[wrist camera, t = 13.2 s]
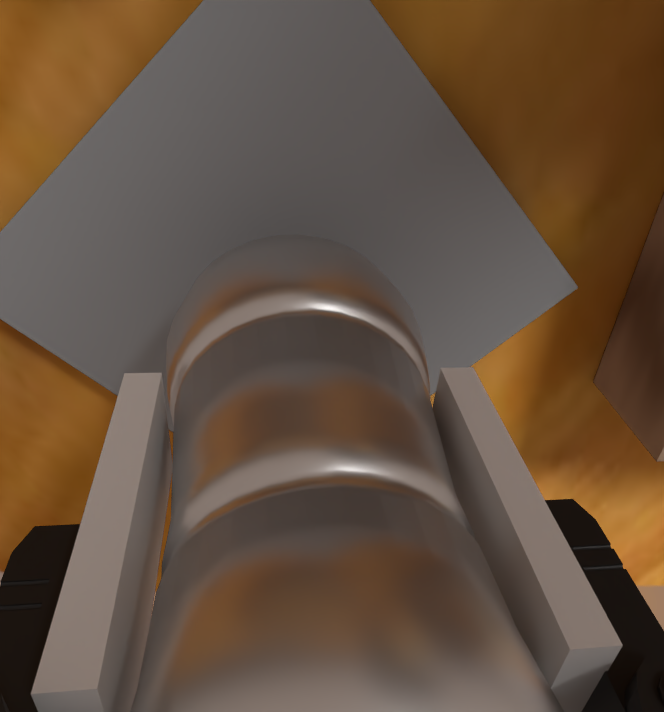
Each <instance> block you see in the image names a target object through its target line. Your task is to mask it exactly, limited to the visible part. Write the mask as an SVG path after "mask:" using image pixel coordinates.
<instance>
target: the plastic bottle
mask: <svg viewBox="0 0 664 712" xmlns="http://www.w3.org/2000/svg"><path fill="white" fill-rule="evenodd" d="M166 371H167V395H168V401H169V407H170V412H171V417H172V421H173V426H174V433H173V468H172V502H171V522H170V527H169V532H168V537H167V542H166V547H165V551H164V556H163V561H162V578H161V581H160V584H159V587H158V589H157V592H156V596H155V601H154V606H153V611H152V616H151V621H150V626H149V631H148V636H147V641H146V646H145V651H144V656H143V661H142V666H141V671H140V676H139V681H138V686H137V691H136V694H135V698H134V701H133V704H132V708H131V711H130V712H564V710H563V709H562V707H561V705H560V703H559V702H558V700H557V698H556V696H555V695H554V693H553V691H552V689H551V688H550V686H549V684H548V682H547V680H546V679H545V677H544V675H543V673H542V672H541V670H540V668H539V666H538V665H537V663H536V661H535V659H534V657H533V656H532V654H531V652H530V650H529V649H528V647H527V645H526V643H525V642H524V640H523V638H522V636H521V635H520V633H519V631H518V629H517V627H516V625H515V622H514V620H513V618H512V616H511V614H510V611H509V609H508V607H507V605H506V603H505V600H504V598H503V596H502V594H501V592H500V589H499V587H498V585H497V583H496V581H495V578H494V576H493V574H492V572H491V570H490V567H489V565H488V563H487V561H486V559H485V557H484V554H483V552H482V550H481V548H480V546H479V544H478V542H477V541H476V540H475V535H474V532H473V530H472V528H471V526H470V524H469V522H468V519H467V517H466V515H465V513H464V511H463V509H462V506H461V504H460V502H459V500H458V498H457V495H456V492H455V489H454V485H453V481H452V478H451V474H450V471H449V467H448V463H447V460H446V456H445V452H444V449H443V445H442V441H441V438H440V434H439V430H438V427H437V423H436V419H435V416H434V412H433V409H432V405H431V401H430V384H429V374H428V368H427V361H426V356H425V351H424V347H423V342H422V337H421V333H420V328H419V326H418V323H417V321H416V318H415V316H414V314H413V311H412V309H411V307H410V306H409V304H408V303H407V302H406V300H405V299H404V297H403V296H402V295H401V293H400V292H399V290H398V289H397V288H396V287H395V286H394V285H393V284H392V283H391V282H390V281H389V279H388V278H387V277H386V276H385V275H384V274H383V273H382V272H381V271H380V270H379V269H378V268H377V267H376V266H375V265H373V264H372V263H371V262H370V261H369V260H368V259H367V258H366V257H364V256H362V255H361V254H359V253H357V252H356V251H354V250H352V249H350V248H349V247H347V246H345V245H342V244H339V243H336V242H333V241H331V240H328V239H325V238H319V237H313V236H306V235H275V236H270V237H266V238H261V239H257V240H252V241H250V242H248V243H245V244H243V245H241V246H238V247H236V248H233V249H231V250H230V251H228V252H227V253H225V254H224V255H222V256H221V257H219V258H218V259H216V260H215V261H214V262H212V263H211V264H210V265H209V266H208V267H207V268H206V269H205V271H204V272H203V273H202V274H201V275H200V276H199V277H198V278H197V279H196V281H195V283H194V284H193V286H192V288H191V289H190V291H189V293H188V295H187V296H186V298H185V300H184V301H183V303H182V305H181V306H180V308H179V310H178V312H177V313H176V315H175V317H174V318H173V321H172V325H171V328H170V332H169V335H168V339H167V354H166Z"/></svg>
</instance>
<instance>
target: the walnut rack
mask: <svg viewBox="0 0 664 712" xmlns="http://www.w3.org/2000/svg"><path fill="white" fill-rule="evenodd" d="M593 383H594V384H595V385H596V386H597V388H598V389H599V390H600V391H601V393H602V394H603V395H604V396H605V398H606V399H607V400H608V401H609V403H610V404H611V405H612V406H613V408H614V409H615V410H616V411H617V413H618V414H619V415H620V416H621V418H622V419H623V420H624V421H625V423H626V424H627V425H628V426H629V428H630V429H631V430H632V431H633V433H634V434H635V435H636V436H637V438H638V439H639V440H640V441H641V443H642V444H643V445H644V446H645V448H646V449H647V450H648V451H649V453H650V454H651V455H652V456H653V458H654V459H655V460H656V461H664V194H663V197H662V200H661V202H660V205H659V208H658V210H657V213H656V216H655V218H654V221H653V224H652V226H651V229H650V232H649V234H648V237H647V240H646V242H645V245H644V248H643V250H642V253H641V256H640V258H639V261H638V264H637V266H636V269H635V272H634V275H633V277H632V280H631V283H630V285H629V288H628V291H627V293H626V296H625V299H624V301H623V304H622V307H621V309H620V312H619V315H618V317H617V320H616V323H615V325H614V328H613V331H612V333H611V336H610V339H609V341H608V344H607V347H606V349H605V352H604V355H603V357H602V360H601V363H600V365H599V368H598V371H597V373H596V376H595V379H594V381H593Z"/></svg>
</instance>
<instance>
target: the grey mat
mask: <svg viewBox="0 0 664 712" xmlns="http://www.w3.org/2000/svg"><path fill="white" fill-rule="evenodd" d="M275 235H306V236H313V237H319V238H325V239H328V240H331V241H333V242H336V243H339V244H342V245H345V246H347V247H349V248H350V249H352V250H354V251H356V252H357V253H359V254H361V255H362V256H364V257H366V258H367V259H368V260H369V261H370V262H371V263H372V264H373V265H375V266H376V267H377V268H378V269H379V270H380V271H381V272H382V273H383V274H384V275H385V276H386V277H387V278H388V279H389V281H390V282H391V283H392V284H393V285H394V286H395V287H396V288H397V289H398V290H399V292H400V293H401V295H402V296H403V297H404V299H405V300H406V302H407V303H408V304H409V306H410V307H411V309H412V311H413V314H414V316H415V318H416V321H417V323H418V326H419V328H420V333H421V337H422V342H423V347H424V351H425V356H426V361H427V368H428V374H429V384H430V395H432V394H433V393H435V392H436V388H437V383H438V378H439V373H440V368H461V367H470V366H472V365H473V364H474V363H476V362H477V361H478V360H480V359H481V358H483V357H484V356H485V355H487V354H488V353H489V352H491V351H492V350H494V349H495V348H496V347H498V346H499V345H500V344H502V343H503V342H505V341H506V340H507V339H509V338H510V337H511V336H513V335H514V334H516V333H517V332H518V331H520V330H521V329H522V328H524V327H525V326H526V325H528V324H529V323H531V322H532V321H533V320H535V319H536V318H537V317H539V316H540V315H542V314H543V313H544V312H546V311H547V310H548V309H550V308H551V307H553V306H554V305H555V304H557V303H558V302H559V301H561V300H562V299H564V298H565V297H566V296H568V295H569V294H570V293H572V292H573V291H574V290H576V289H577V288H578V286H577V285H576V283H575V282H574V281H573V279H572V278H571V277H570V275H569V274H568V272H567V271H566V270H565V268H564V267H563V266H562V264H561V263H560V261H559V260H558V259H557V257H556V256H555V254H554V253H553V252H552V250H551V249H550V248H549V246H548V245H547V243H546V242H545V241H544V239H543V238H542V237H541V235H540V234H539V232H538V231H537V230H536V228H535V227H534V226H533V224H532V223H531V221H530V220H529V219H528V217H527V216H526V215H525V213H524V212H523V210H522V209H521V208H520V206H519V205H518V204H517V202H516V201H515V199H514V198H513V197H512V195H511V194H510V193H509V191H508V190H507V188H506V187H505V186H504V184H503V183H502V182H501V180H500V179H499V177H498V176H497V175H496V173H495V172H494V171H493V169H492V168H491V166H490V165H489V164H488V162H487V161H486V159H485V158H484V157H483V155H482V154H481V153H480V151H479V150H478V148H477V147H476V146H475V144H474V143H473V142H472V140H471V139H470V137H469V136H468V135H467V133H466V132H465V131H464V129H463V128H462V126H461V125H460V124H459V122H458V121H457V120H456V118H455V117H454V115H453V114H452V113H451V111H450V110H449V109H448V107H447V106H446V104H445V103H444V102H443V100H442V99H441V98H440V96H439V95H438V93H437V92H436V91H435V89H434V88H433V87H432V85H431V84H430V82H429V81H428V80H427V78H426V77H425V76H424V74H423V73H422V71H421V70H420V69H419V67H418V66H417V64H416V63H415V62H414V60H413V59H412V58H411V56H410V55H409V53H408V52H407V51H406V49H405V48H404V47H403V45H402V44H401V42H400V41H399V40H398V38H397V37H396V36H395V34H394V33H393V31H392V30H391V29H390V27H389V26H388V25H387V23H386V22H385V20H384V19H383V18H382V16H381V15H380V14H379V12H378V11H377V9H376V8H375V7H374V5H373V4H372V3H371V1H370V0H203V1H202V3H201V4H200V5H199V6H198V7H197V8H196V9H195V11H194V12H193V13H192V14H191V15H190V16H189V17H188V19H187V20H186V21H185V22H184V23H183V24H182V25H181V27H180V28H179V29H178V30H177V31H176V32H175V33H174V35H173V36H172V37H171V38H170V39H169V40H168V41H167V43H166V44H165V45H164V46H163V47H162V48H161V49H160V51H159V52H158V53H157V54H156V55H155V56H154V57H153V59H152V60H151V61H150V62H149V63H148V64H147V65H146V67H145V68H144V69H143V70H142V71H141V72H140V73H139V75H138V76H137V77H136V78H135V79H134V80H133V81H132V83H131V84H130V85H129V86H128V87H127V88H126V89H125V91H124V92H123V93H122V94H121V95H120V96H119V97H118V99H117V100H116V101H115V102H114V103H113V104H112V105H111V106H110V108H109V109H108V110H107V111H106V112H105V113H104V114H103V116H102V117H101V118H100V119H99V120H98V121H97V122H96V124H95V125H94V126H93V127H92V128H91V129H90V130H89V132H88V133H87V134H86V135H85V136H84V137H83V138H82V140H81V141H80V142H79V143H78V144H77V145H76V146H75V148H74V149H73V150H72V151H71V152H70V153H69V154H68V156H67V157H66V158H65V159H64V160H63V161H62V162H61V164H60V165H59V166H58V167H57V168H56V169H55V170H54V172H53V173H52V174H51V175H50V176H49V177H48V178H47V180H46V181H45V182H44V183H43V184H42V185H41V186H40V188H39V189H38V190H37V191H36V192H35V193H34V194H33V196H32V197H31V198H30V199H29V200H28V201H27V202H26V203H25V205H24V206H23V207H22V208H21V209H20V210H19V211H18V213H17V214H16V215H15V216H14V217H13V218H12V219H11V221H10V222H9V223H8V224H7V225H6V226H5V227H4V229H3V230H2V231H1V232H0V319H1V320H3V321H4V322H6V323H7V324H9V325H10V326H12V327H13V328H15V329H16V330H18V331H19V332H21V333H23V334H24V335H26V336H27V337H29V338H30V339H32V340H33V341H35V342H36V343H38V344H39V345H41V346H42V347H44V348H45V349H47V350H48V351H50V352H51V353H53V354H55V355H56V356H58V357H59V358H61V359H62V360H64V361H65V362H67V363H68V364H70V365H71V366H73V367H74V368H76V369H77V370H79V371H80V372H82V373H83V374H85V375H87V376H88V377H90V378H91V379H93V380H94V381H96V382H97V383H99V384H100V385H102V386H103V387H105V388H106V389H108V390H109V391H111V392H112V393H114V394H116V395H117V396H118V394H119V390H120V387H121V383H122V380H123V377H124V373H162V379H163V388H164V396H165V404H166V413H167V421H168V429H169V430H170V431H172V432H173V433H174V426H173V421H172V417H171V412H170V407H169V401H168V395H167V371H166V354H167V339H168V335H169V332H170V328H171V325H172V321H173V318H174V317H175V315H176V313H177V312H178V310H179V308H180V306H181V305H182V303H183V301H184V300H185V298H186V296H187V295H188V293H189V291H190V289H191V288H192V286H193V284H194V283H195V281H196V279H197V278H198V277H199V276H200V275H201V274H202V273H203V272H204V271H205V269H206V268H207V267H208V266H209V265H210V264H211V263H212V262H214V261H215V260H216V259H218V258H219V257H221V256H222V255H224V254H225V253H227V252H228V251H230V250H231V249H233V248H236V247H238V246H241V245H243V244H245V243H248V242H250V241H252V240H257V239H261V238H266V237H270V236H275Z"/></svg>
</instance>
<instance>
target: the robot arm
mask: <svg viewBox="0 0 664 712" xmlns="http://www.w3.org/2000/svg"><path fill="white" fill-rule="evenodd" d="M433 412H434V416H435V419H436V423H437V427H438V430H439V434H440V438H441V441H442V445H443V449H444V452H445V456H446V460H447V463H448V467H449V471H450V474H451V478H452V481H453V485H454V489H455V492H456V495H457V498H458V500H459V502H460V504H461V506H462V509H463V511H464V513H465V515H466V517H467V519H468V522H469V524H470V526H471V528H472V530H473V532H474V535H475V540H476V541H477V542H478V544H479V546H480V548H481V550H482V552H483V554H484V557H485V559H486V561H487V563H488V565H489V567H490V570H491V572H492V574H493V576H494V578H495V581H496V583H497V585H498V587H499V589H500V592H501V594H502V596H503V598H504V600H505V603H506V605H507V607H508V609H509V611H510V614H511V616H512V618H513V620H514V622H515V625H516V627H517V629H518V631H519V633H520V635H521V636H522V638H523V640H524V642H525V643H526V645H527V647H528V649H529V650H530V652H531V654H532V656H533V657H534V659H535V661H536V663H537V665H538V666H539V668H540V670H541V672H542V673H543V675H544V677H545V679H546V680H547V682H548V684H549V686H550V688H551V689H552V691H553V693H554V695H555V696H556V698H557V700H558V702H559V703H560V705H561V707H562V709H563V710H564V712H664V631H663V629H662V627H661V626H660V624H659V623H658V621H657V619H656V618H655V616H654V614H653V613H652V611H651V609H650V608H649V606H648V605H647V603H646V601H645V600H644V598H643V596H642V595H641V593H640V591H639V590H638V588H637V587H636V585H635V583H634V582H633V580H632V578H631V577H630V575H629V573H628V572H627V570H626V569H623V564H622V562H621V560H620V559H619V557H618V555H617V554H616V552H615V550H614V549H611V547H610V542H609V541H608V539H607V537H606V536H605V534H604V532H603V531H602V529H601V528H600V526H599V524H598V523H597V521H596V519H594V518H593V517H592V516H591V515H590V514H589V513H588V512H587V511H585V510H584V509H583V508H582V507H581V506H580V505H579V504H578V503H577V502H575V501H574V500H573V499H563V500H544V498H543V496H542V494H541V493H540V491H539V489H538V487H537V485H536V483H535V481H534V480H533V478H532V476H531V474H530V472H529V470H528V468H527V467H526V465H525V463H524V461H523V459H522V457H521V455H520V454H519V452H518V450H517V448H516V446H515V444H514V442H513V441H512V439H511V437H510V435H509V433H508V431H507V429H506V428H505V426H504V424H503V422H502V420H501V418H500V416H499V415H498V413H497V411H496V409H495V407H494V405H493V403H492V402H491V400H490V398H489V396H488V394H487V392H486V390H485V389H484V387H483V385H482V383H481V381H480V379H479V377H478V376H477V374H476V372H475V370H474V368H473V367H461V368H440V373H439V378H438V383H437V388H436V393H435V398H434V404H433ZM172 468H173V463H172V455H171V446H170V438H169V430H168V421H167V413H166V404H165V396H164V388H163V379H162V373H124V377H123V380H122V383H121V387H120V390H119V394H118V397H117V401H116V404H115V407H114V411H113V414H112V418H111V421H110V424H109V428H108V431H107V435H106V438H105V442H104V445H103V448H102V452H101V455H100V459H99V462H98V466H97V469H96V472H95V476H94V479H93V483H92V486H91V490H90V493H89V496H88V500H87V503H86V507H85V510H84V513H83V517H82V520H81V524H75V525H54V526H35V527H34V528H33V529H32V530H31V531H30V532H29V534H28V535H27V536H26V537H25V538H24V539H23V540H22V542H21V543H20V544H19V545H18V546H17V547H16V548H15V550H14V551H13V552H12V554H11V556H10V559H9V561H8V564H7V567H6V569H5V572H4V574H3V577H2V580H1V586H0V712H130V711H131V708H132V704H133V701H134V698H135V694H136V691H137V686H138V681H139V676H140V671H141V666H142V661H143V656H144V651H145V646H146V641H147V636H148V631H149V626H150V621H151V614H152V608H153V600H154V594H155V587H156V580H157V573H158V566H159V559H160V552H161V546H162V539H163V532H164V525H165V518H166V511H167V504H168V497H169V491H170V484H171V477H172Z"/></svg>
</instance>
